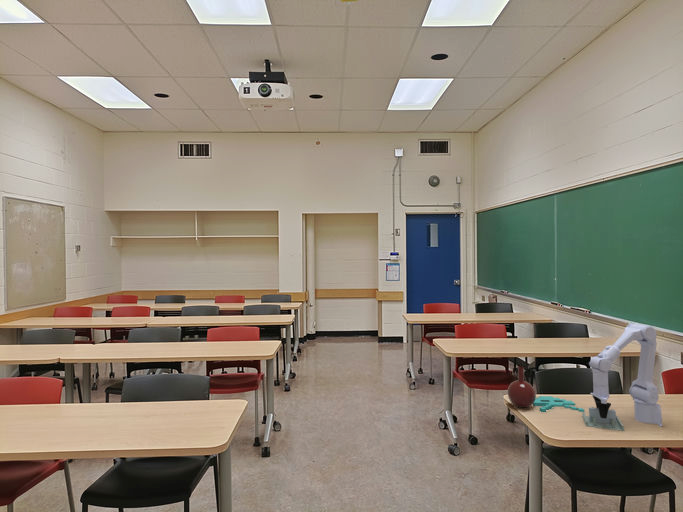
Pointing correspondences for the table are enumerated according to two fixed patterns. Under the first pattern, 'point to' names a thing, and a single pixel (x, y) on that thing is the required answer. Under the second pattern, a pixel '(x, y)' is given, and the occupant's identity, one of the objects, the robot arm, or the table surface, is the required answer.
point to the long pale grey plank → (598, 419)
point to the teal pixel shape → (554, 403)
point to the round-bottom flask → (521, 391)
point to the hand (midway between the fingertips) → (601, 415)
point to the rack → (611, 426)
